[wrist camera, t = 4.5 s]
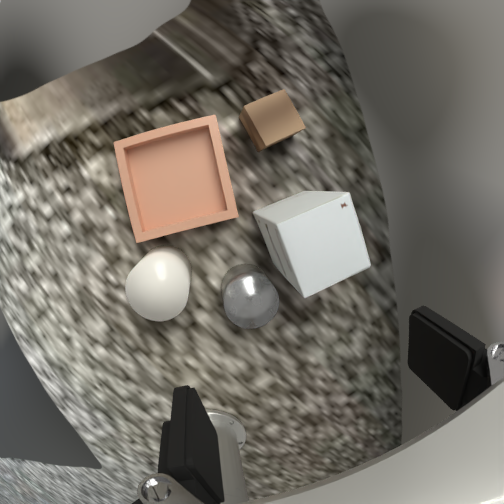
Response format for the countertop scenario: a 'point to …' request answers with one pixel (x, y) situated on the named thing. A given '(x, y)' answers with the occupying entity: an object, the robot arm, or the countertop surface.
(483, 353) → the robot arm
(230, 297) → the grey tin
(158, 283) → the white rounded lump
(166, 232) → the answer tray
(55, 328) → the countertop surface
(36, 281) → the countertop surface
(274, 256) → the supplement box
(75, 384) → the countertop surface
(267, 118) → the walnut block
